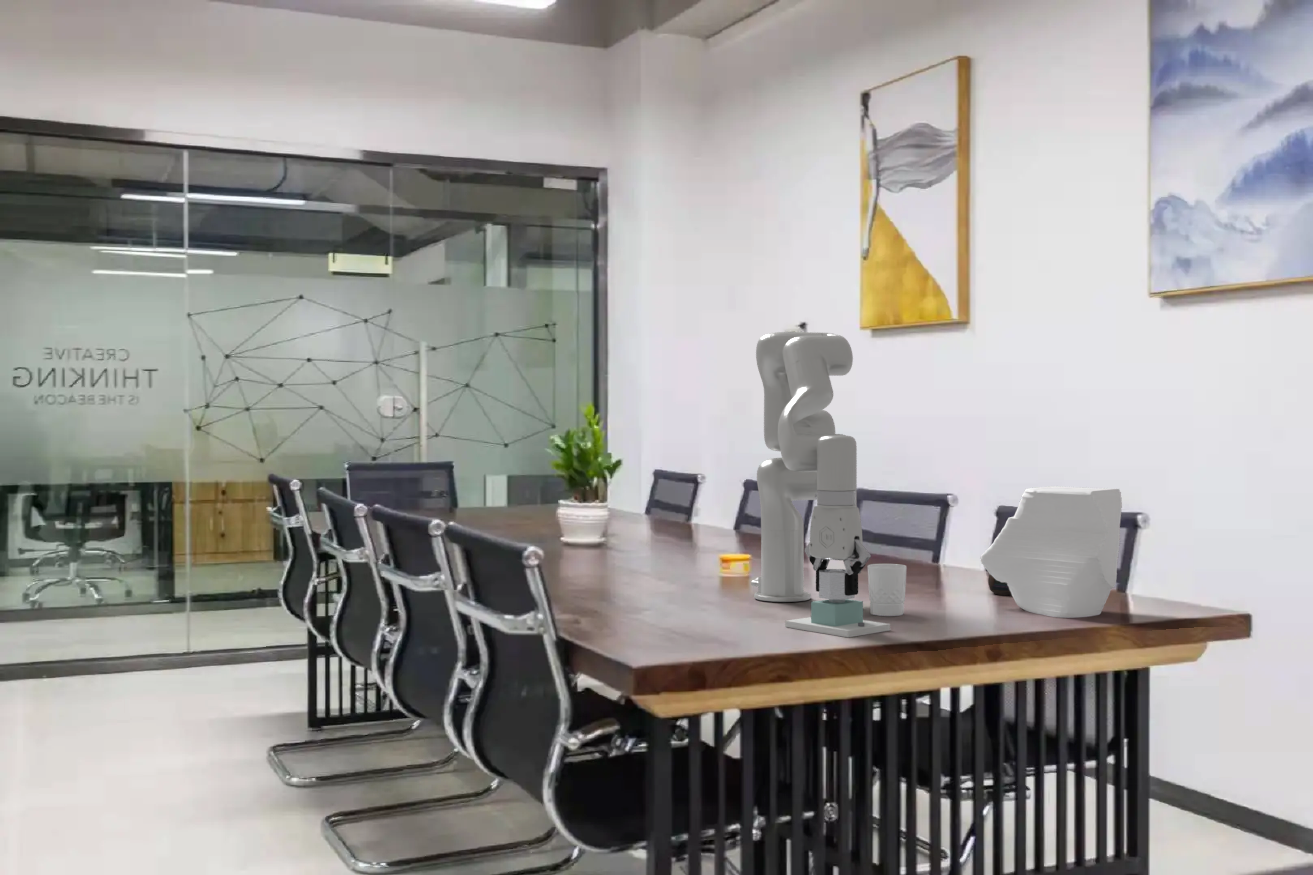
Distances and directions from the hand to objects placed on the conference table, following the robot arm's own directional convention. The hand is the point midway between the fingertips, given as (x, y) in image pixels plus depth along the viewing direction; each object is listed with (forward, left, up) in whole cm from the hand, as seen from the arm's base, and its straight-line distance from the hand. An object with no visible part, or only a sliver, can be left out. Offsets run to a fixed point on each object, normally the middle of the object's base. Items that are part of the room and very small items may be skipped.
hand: (836, 592), depth 245 cm
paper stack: (+14, +54, -7) cm, 56 cm away
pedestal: (0, 0, -7) cm, 7 cm away
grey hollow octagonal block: (0, 0, -1) cm, 1 cm away
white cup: (-6, +22, -7) cm, 24 cm away
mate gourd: (-8, +66, -7) cm, 67 cm away
